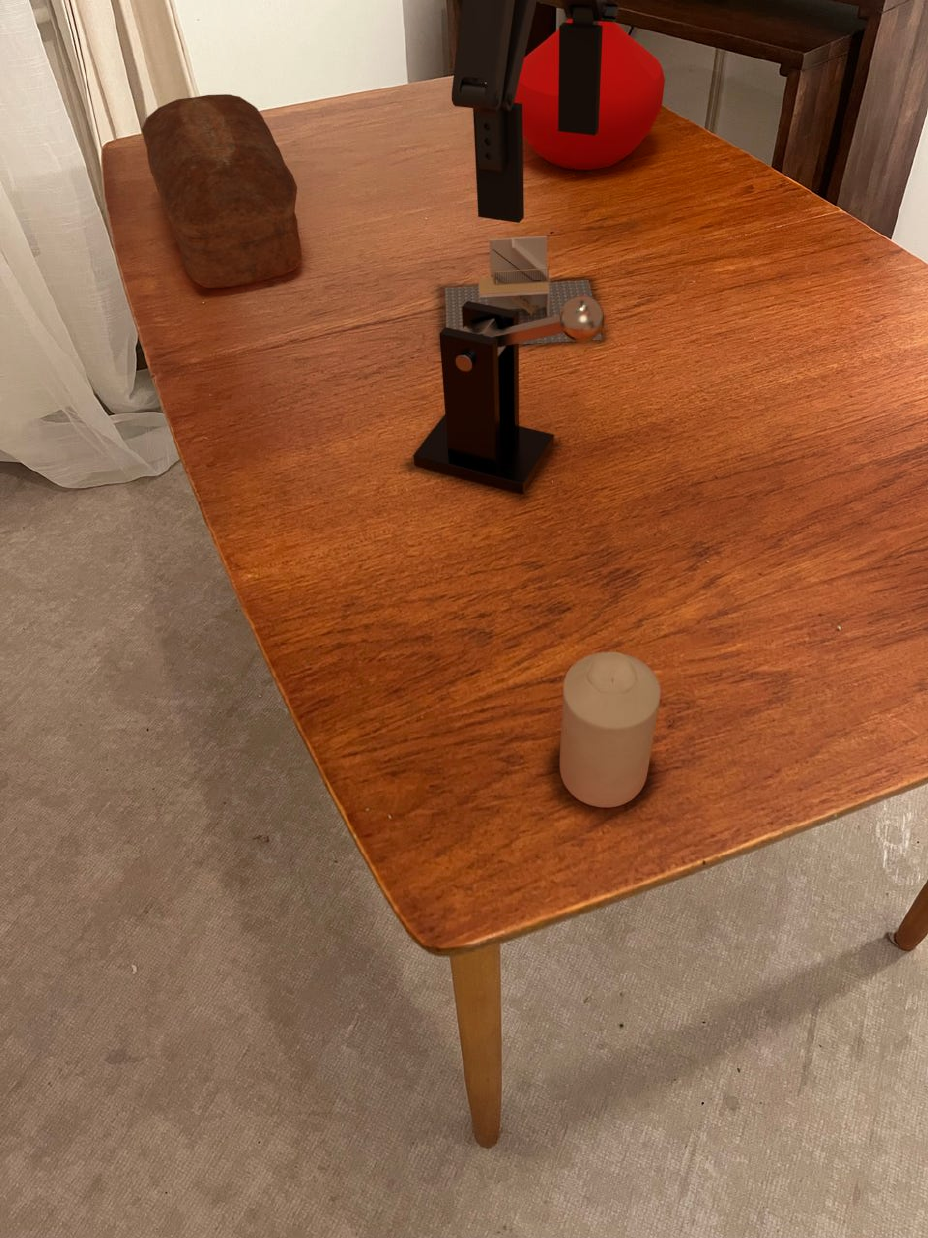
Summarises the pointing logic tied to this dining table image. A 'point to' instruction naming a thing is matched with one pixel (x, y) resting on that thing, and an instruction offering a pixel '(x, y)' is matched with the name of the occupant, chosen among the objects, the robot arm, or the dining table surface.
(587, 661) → the candle
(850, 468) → the dining table surface
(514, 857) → the dining table surface
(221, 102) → the bread
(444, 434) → the bracket
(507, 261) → the architectural model
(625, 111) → the vase
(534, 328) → the lever
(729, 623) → the dining table surface
